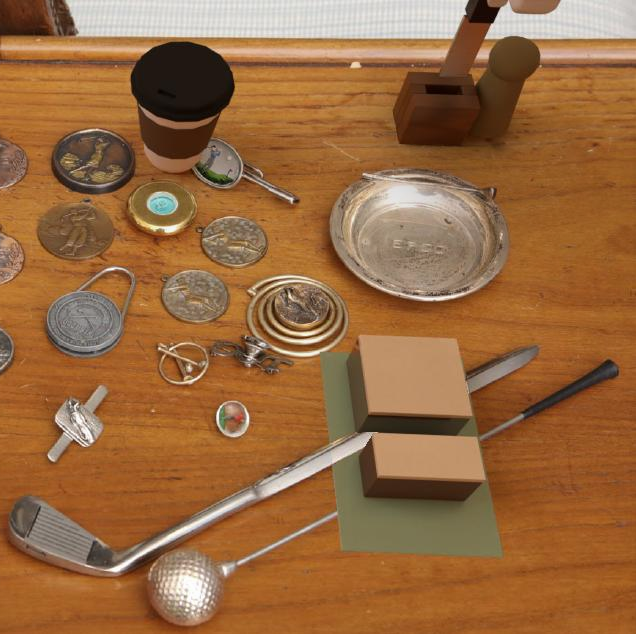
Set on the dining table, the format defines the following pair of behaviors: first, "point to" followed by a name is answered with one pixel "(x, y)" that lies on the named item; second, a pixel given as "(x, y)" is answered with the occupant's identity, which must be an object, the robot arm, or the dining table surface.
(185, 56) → the coffee cup
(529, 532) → the dining table surface
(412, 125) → the knife block
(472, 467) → the tan rectangular block
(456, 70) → the knife
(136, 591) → the dining table surface
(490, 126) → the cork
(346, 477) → the green board with blocks
